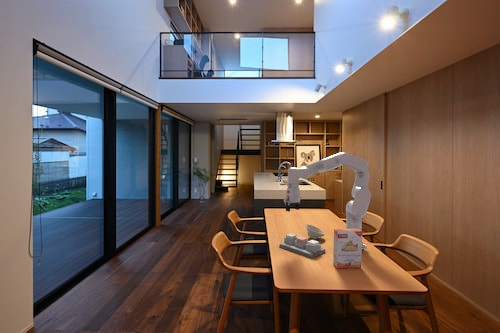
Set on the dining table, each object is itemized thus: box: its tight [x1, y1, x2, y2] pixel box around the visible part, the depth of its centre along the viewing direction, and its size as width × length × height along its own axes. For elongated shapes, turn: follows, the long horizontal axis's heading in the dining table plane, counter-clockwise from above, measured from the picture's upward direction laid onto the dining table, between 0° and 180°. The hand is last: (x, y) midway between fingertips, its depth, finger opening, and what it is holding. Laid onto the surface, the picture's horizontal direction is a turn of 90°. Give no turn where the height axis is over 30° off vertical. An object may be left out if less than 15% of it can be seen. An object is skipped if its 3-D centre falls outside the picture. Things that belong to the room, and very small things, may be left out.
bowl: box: [305, 224, 325, 240], centre depth 191 cm, size 15×14×10 cm
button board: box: [279, 236, 326, 259], centre depth 169 cm, size 26×15×6 cm, turn 41°
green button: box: [285, 232, 297, 240], centre depth 176 cm, size 5×5×3 cm
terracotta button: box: [296, 236, 308, 243], centre depth 169 cm, size 5×5×3 cm
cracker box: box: [332, 228, 363, 269], centre depth 143 cm, size 14×6×21 cm, turn 93°
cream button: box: [307, 239, 320, 247], centre depth 162 cm, size 5×5×3 cm
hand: (292, 210), depth 176 cm, fingers open, 9 cm apart
